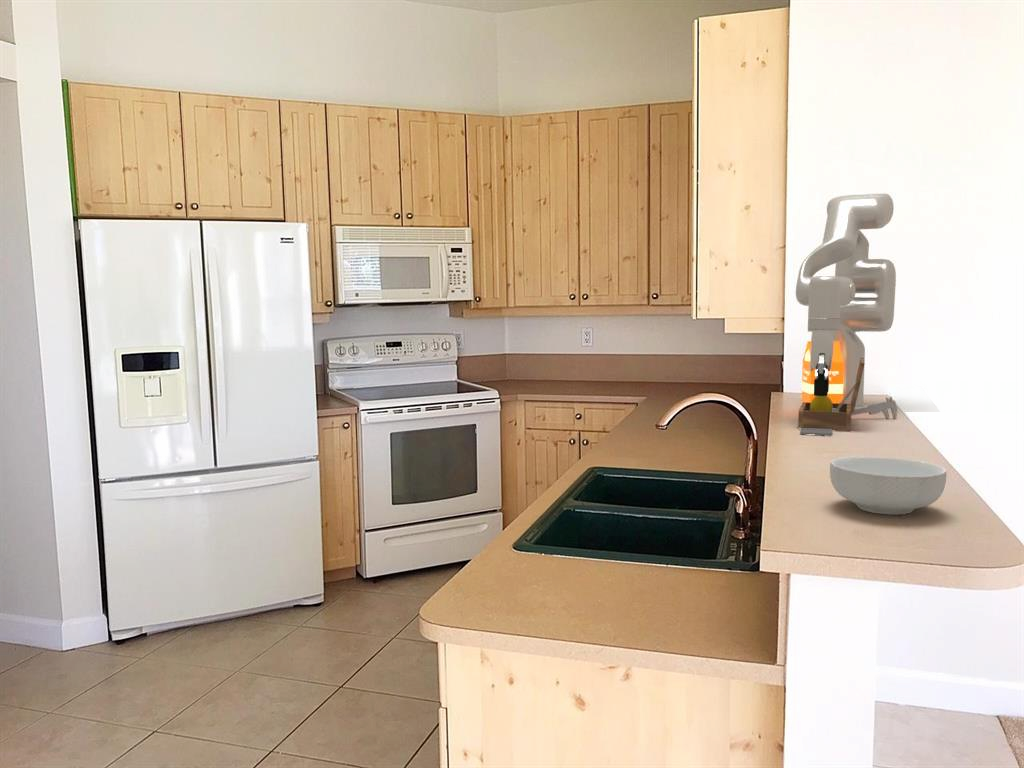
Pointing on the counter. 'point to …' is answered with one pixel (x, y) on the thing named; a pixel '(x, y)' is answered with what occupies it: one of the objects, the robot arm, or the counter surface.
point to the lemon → (821, 404)
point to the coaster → (816, 431)
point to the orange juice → (833, 374)
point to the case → (840, 411)
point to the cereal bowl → (887, 483)
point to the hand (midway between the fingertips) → (821, 394)
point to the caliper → (879, 408)
